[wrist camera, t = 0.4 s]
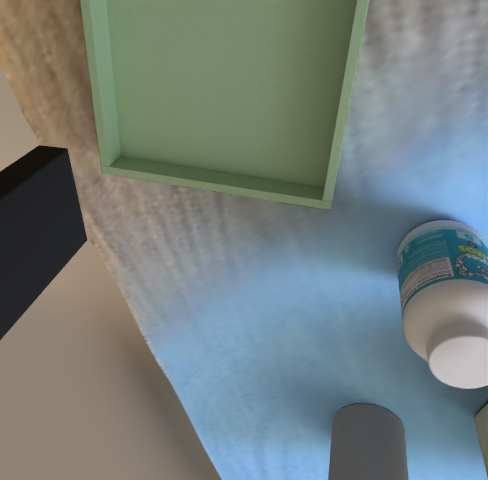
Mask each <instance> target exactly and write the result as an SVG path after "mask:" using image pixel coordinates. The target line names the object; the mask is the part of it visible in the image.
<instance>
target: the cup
mask: <svg viewBox="0 0 488 480" xmlns="http://www.w3.org/2000/svg"><path fill="white" fill-rule="evenodd" d="M328 480H408V469H407V456H406V443H405V431H404V427H403V425H402V422H401V420H400V418H398V417H397V416H396V415H395V414H393V413H392V412H391V411H390V410H388V409H385V408H382V407H379V406H376V405H373V404H353V405H350V406H346V407H343V408H342V409H340V410H339V411H338V412H337V413H336V414H335V415H334V419H333V425H332V438H331V451H330V464H329V477H328Z"/></svg>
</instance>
